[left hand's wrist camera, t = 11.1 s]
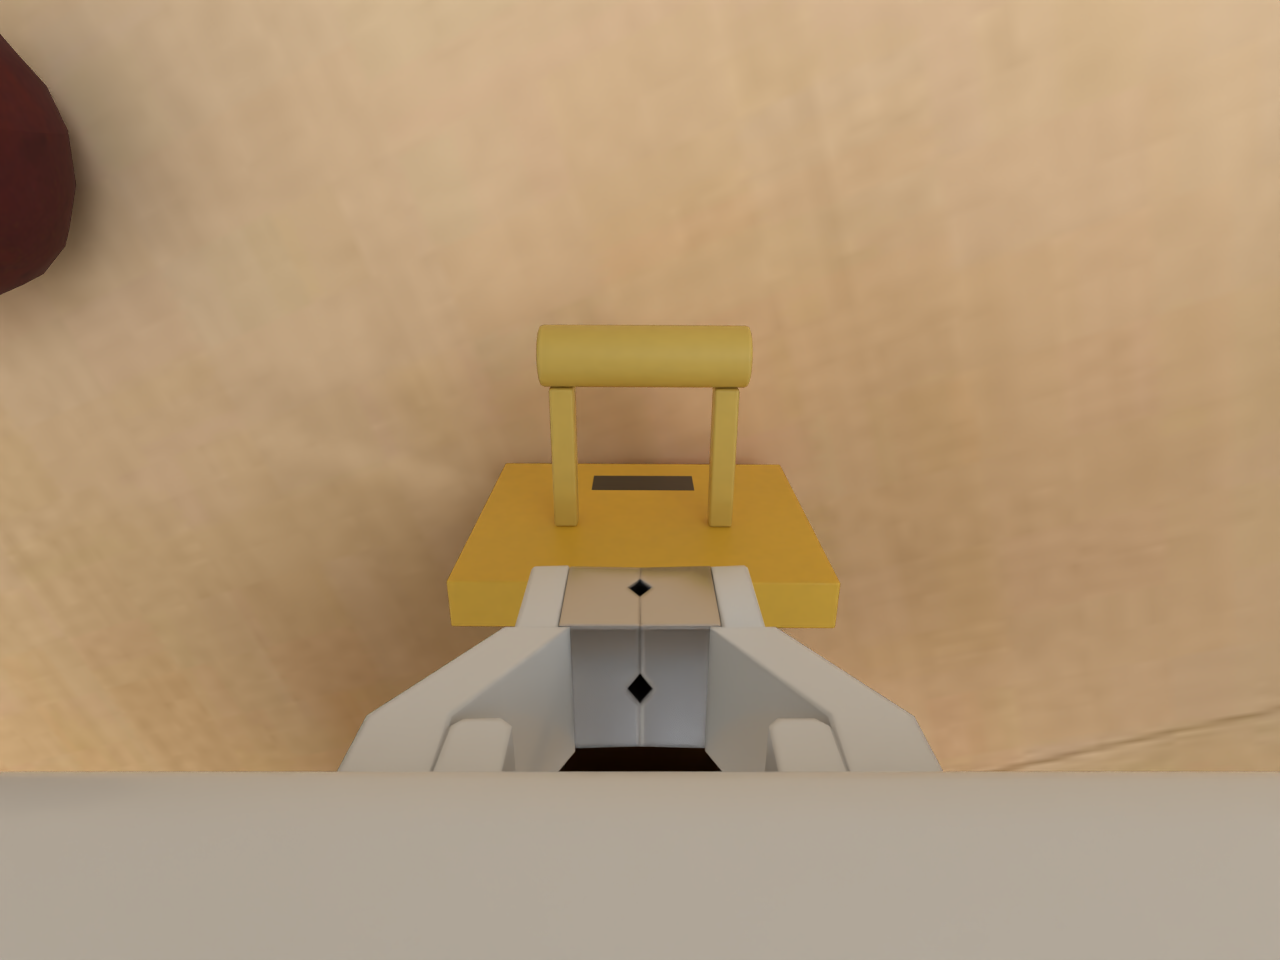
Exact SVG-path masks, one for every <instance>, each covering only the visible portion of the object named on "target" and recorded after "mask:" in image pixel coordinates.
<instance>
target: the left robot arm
mask: <svg viewBox="0 0 1280 960" xmlns="http://www.w3.org/2000/svg"><path fill="white" fill-rule="evenodd" d="M635 746H643V747H680V748H705V752H706V753H707V754H708V755H709V756H710V758H711V759H712V760H713V761H714V762H715V764H716V765H717V766H718V767H719V768H720V770H721V771H722V772H558V771H559V770H560V769H561V768H562V767H563V765H564V764H565V763H566V762H567V761H568V759H569V758H570V757H571V756H572V755H573V754H574V752H575V748H599V747H635ZM0 960H1280V771H943V770H942V768H941V766H940V764H939V763H938V761H937V759H936V757H935V755H934V753H933V751H932V749H931V747H930V745H929V743H928V742H927V740H926V738H925V736H924V734H923V732H922V730H921V728H920V726H919V724H918V722H917V720H916V719H915V717H914V716H913V715H911V714H910V713H908V712H907V711H905V710H904V709H902V708H900V707H899V706H897V705H896V704H894V703H893V702H891V701H890V700H888V699H886V698H885V697H883V696H882V695H880V694H879V693H877V692H876V691H874V690H872V689H871V688H869V687H868V686H866V685H865V684H863V683H862V682H860V681H859V680H857V679H855V678H854V677H852V676H851V675H849V674H848V673H846V672H845V671H843V670H841V669H840V668H838V667H837V666H835V665H834V664H832V663H831V662H829V661H827V660H826V659H824V658H823V657H821V656H820V655H818V654H817V653H815V652H814V651H812V650H810V649H809V648H807V647H806V646H804V645H803V644H801V643H800V642H798V641H796V640H795V639H793V638H792V637H790V636H789V635H787V634H786V633H784V632H782V631H781V630H779V629H778V628H776V627H765V624H764V621H763V618H762V614H761V611H760V607H759V604H758V601H757V597H756V594H755V591H754V587H753V584H752V580H751V577H750V574H749V570H748V568H747V567H746V566H744V565H738V566H716V567H710V566H687V567H645V568H640V567H588V566H571V567H569V566H568V565H562V566H535V567H533V568H532V569H531V573H530V576H529V580H528V583H527V587H526V590H525V593H524V597H523V600H522V604H521V607H520V611H519V614H518V617H517V621H516V624H515V627H504V628H502V629H501V630H499V631H497V632H496V633H494V634H493V635H491V636H490V637H488V638H487V639H485V640H483V641H482V642H480V643H479V644H477V645H476V646H474V647H473V648H471V649H469V650H468V651H466V652H465V653H463V654H462V655H460V656H459V657H457V658H455V659H454V660H452V661H451V662H449V663H448V664H446V665H444V666H443V667H441V668H440V669H438V670H437V671H435V672H434V673H432V674H430V675H429V676H427V677H426V678H424V679H423V680H421V681H420V682H418V683H416V684H415V685H413V686H412V687H410V688H409V689H407V690H406V691H404V692H402V693H401V694H399V695H398V696H396V697H395V698H393V699H391V700H390V701H388V702H387V703H385V704H384V705H382V706H381V707H379V708H377V709H376V710H374V711H373V712H371V713H370V714H368V715H367V716H366V717H365V719H364V721H363V723H362V725H361V727H360V729H359V731H358V733H357V734H356V736H355V738H354V740H353V742H352V744H351V746H350V748H349V750H348V751H347V753H346V755H345V757H344V759H343V761H342V763H341V765H340V767H339V768H338V770H337V772H0Z"/></svg>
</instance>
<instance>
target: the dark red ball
mask: <svg viewBox="0 0 1280 960" xmlns="http://www.w3.org/2000/svg"><path fill="white" fill-rule="evenodd" d="M75 187H76V182H75V175H74V169H73V162H72V156H71V149H70V142H69V136H68V130H67V128H66V126H65V124H64V122H63V120H62V117H61V115H60V113H59V111H58V109H57V107H56V105H55V103H54V101H53V99H52V97H51V95H50V92H49V90H48V88H47V86H46V85H45V84H44V83H43V82H42V81H41V80H40V78H39V77H38V76H37V75H36V74H35V73H34V72H33V71H32V70H31V68H30V67H29V66H28V65H27V64H26V63H25V62H24V61H23V60H22V59H21V57H20V56H19V55H18V54H17V53H16V52H15V51H14V50H13V48H12V47H11V46H10V45H9V44H8V43H7V41H6V40H5V39H4V38H3V37H2V36H1V34H0V294H3V293H5V292H7V291H10V290H12V289H14V288H16V287H19V286H21V285H23V284H25V283H27V282H29V281H31V280H33V279H35V278H36V277H38V276H40V275H42V274H44V272H45V271H46V270H47V269H48V267H49V266H50V265H51V264H52V262H53V261H54V260H55V258H56V257H57V256H58V255H59V253H60V252H61V251H62V249H63V248H64V247H65V245H66V240H67V236H68V232H69V227H70V220H71V214H72V207H73V201H74V194H75Z"/></svg>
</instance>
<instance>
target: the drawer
mask: <svg viewBox="0 0 1280 960" xmlns="http://www.w3.org/2000/svg"><path fill="white" fill-rule="evenodd" d="M752 358H753V345H752V335H751V331H750V328H749V327H747V326H683V325H542V326H540V327H539V330H538V334H537V344H536V360H537V373H538V378H539V381H540V384H541V385H542V386H544V387H550V389H549V408H550V431H551V454H552V464H535V463H507V464H505V466H504V468H503V470H502V472H501V474H500V476H499V478H498V480H497V482H496V484H495V486H494V488H493V490H492V492H491V494H490V496H489V498H488V500H487V502H486V504H485V506H484V508H483V510H482V512H481V514H480V516H479V518H478V520H477V522H476V524H475V526H474V528H473V530H472V532H471V534H470V536H469V538H468V540H467V542H466V544H465V546H464V548H463V550H462V552H461V554H460V556H459V558H458V560H457V562H456V564H455V566H454V568H453V570H452V572H451V574H450V576H449V578H448V580H447V591H448V600H449V609H450V618H451V625H452V626H510V627H515V624H516V621H517V617H518V614H519V611H520V607H521V604H522V600H523V597H524V593H525V590H526V587H527V583H528V580H529V576H530V573H531V569H532V568H533V567H535V566H562V565H568V566H569V567H571V566H588V567H640V568H645V567H687V566H710V567H716V566H738V565H744V566H746V567H747V568H748V570H749V574H750V577H751V580H752V584H753V587H754V591H755V594H756V597H757V601H758V604H759V607H760V611H761V614H762V618H763V621H764V624H765V627H776V628H834V627H835V623H836V615H837V607H838V599H839V590H840V582H839V580H838V578H837V576H836V574H835V572H834V570H833V568H832V566H831V564H830V562H829V561H828V559H827V557H826V555H825V553H824V551H823V549H822V547H821V545H820V543H819V541H818V539H817V537H816V535H815V533H814V531H813V529H812V527H811V525H810V523H809V521H808V519H807V517H806V515H805V513H804V511H803V509H802V508H801V506H800V504H799V502H798V500H797V498H796V496H795V494H794V492H793V490H792V488H791V486H790V484H789V482H788V480H787V478H786V476H785V474H784V472H783V470H782V468H781V466H780V465H735V460H736V443H737V426H738V408H739V390H738V388H744V387H746V386H748V384H749V381H750V377H751V371H752ZM575 387H713V395H712V418H711V441H710V464H578V463H577V429H576V395H575ZM558 772H722V771H721V770H720V768H719V767H718V766H717V765H716V764H715V762H714V761H713V760H712V759H711V758H710V756H709V755H708V754H707V753H706V752H705V748H680V747H643V746H635V747H599V748H575V752H574V754H573V755H572V756H571V757H570V758H569V759H568V761H567V762H566V763H565V764H564V765H563V767H562V768H561V769H560V770H559V771H558Z"/></svg>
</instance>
